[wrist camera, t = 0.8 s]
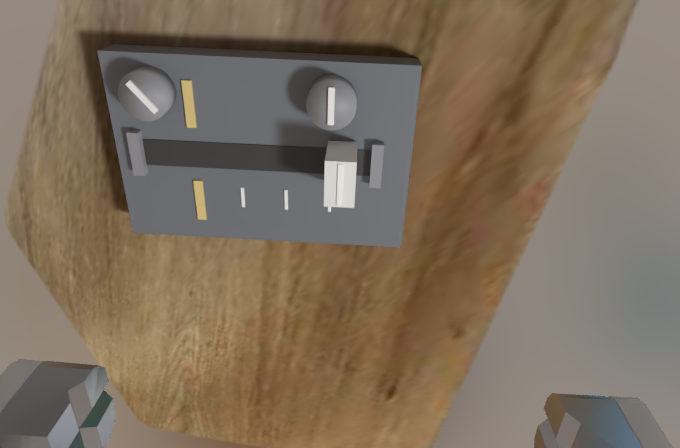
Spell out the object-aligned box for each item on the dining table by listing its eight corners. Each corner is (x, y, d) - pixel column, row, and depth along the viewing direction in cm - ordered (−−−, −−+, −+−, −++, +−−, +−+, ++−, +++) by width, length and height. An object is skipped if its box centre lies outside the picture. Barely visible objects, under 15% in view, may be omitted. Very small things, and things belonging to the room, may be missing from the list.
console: (113, 43, 43) (83, 56, 38) (418, 58, 42) (424, 72, 38) (144, 217, 51) (123, 244, 46) (399, 231, 50) (402, 260, 46)
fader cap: (328, 140, 43) (324, 161, 39) (357, 142, 43) (356, 162, 39) (327, 183, 45) (323, 207, 41) (355, 184, 44) (354, 208, 40)
